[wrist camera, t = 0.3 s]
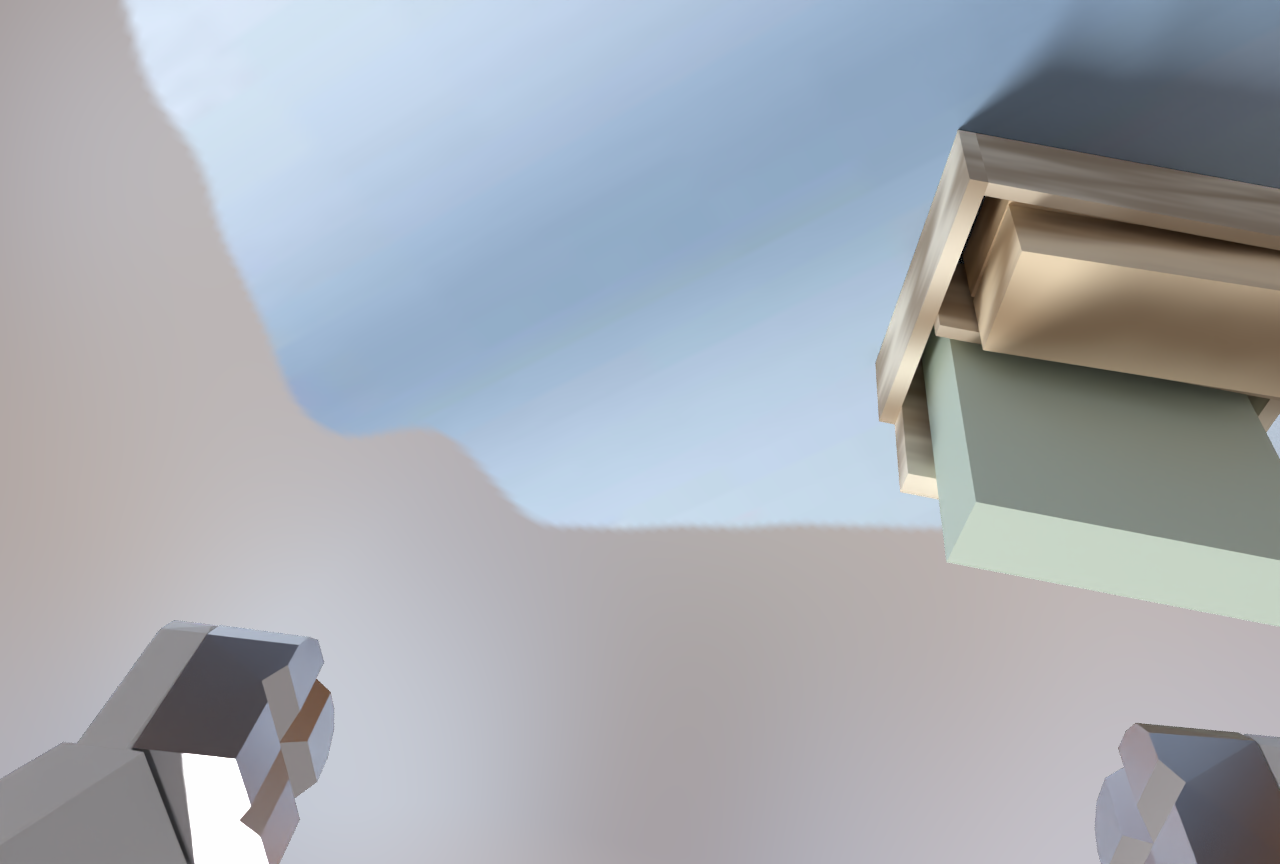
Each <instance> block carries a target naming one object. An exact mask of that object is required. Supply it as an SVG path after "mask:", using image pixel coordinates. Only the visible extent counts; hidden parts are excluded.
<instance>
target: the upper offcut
mask: <svg viewBox="0 0 1280 864" xmlns="http://www.w3.org/2000/svg"><path fill="white" fill-rule="evenodd" d="M973 302H974V307H975V312H976V317H977V322H978V327H979V332H980V337H981V342H982V347H983V350H985V351H992V352H998V353H1004V354H1010V355H1017V356H1023V357H1029V358H1035V359H1042V360H1048V361H1054V362H1061V363H1067V364H1073V365H1079V366H1086V367H1092V368H1098V369H1105V370H1111V371H1117V372H1123V373H1130V374H1136V375H1142V376H1148V377H1155V378H1161V379H1167V380H1174V381H1180V382H1186V383H1192V384H1199V385H1205V386H1211V387H1217V388H1224V389H1230V390H1236V391H1243V392H1249V393H1255V394H1261V395H1268V396H1274V397H1280V250H1275V249H1269V248H1264V247H1258V246H1253V245H1248V244H1242V243H1237V242H1232V241H1226V240H1221V239H1215V238H1210V237H1205V236H1199V235H1194V234H1188V233H1183V232H1178V231H1172V230H1167V229H1161V228H1156V227H1151V226H1144V225H1138V224H1131V223H1125V222H1118V221H1112V220H1105V219H1099V218H1092V217H1085V216H1079V215H1072V214H1066V213H1059V212H1053V211H1046V210H1040V209H1033V208H1027V207H1020V206H1013V205H1008V208H1007V211H1006V213H1005V216H1004V219H1003V221H1002V224H1001V227H1000V230H999V232H998V235H997V238H996V240H995V243H994V246H993V248H992V251H991V254H990V257H989V259H988V262H987V265H986V267H985V270H984V273H983V276H982V278H981V281H980V284H979V286H978V289H977V292H976V295H975V297H974V300H973Z"/></svg>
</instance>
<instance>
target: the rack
mask: <svg viewBox="0 0 1280 864" xmlns="http://www.w3.org/2000/svg"><path fill="white" fill-rule="evenodd" d="M983 196H989V197H994V198H1000V199H1005V200H1011V201H1016V202H1021V203H1027V204H1032V205H1037V206H1043V207H1048V208H1054V209H1059V210H1064V211H1070V212H1075V213H1081V214H1086V215H1091V216H1097V217H1102V218H1108V219H1113V220H1118V221H1124V222H1129V223H1135V224H1140V225H1145V226H1151V227H1156V228H1161V229H1167V230H1172V231H1178V232H1183V233H1188V234H1194V235H1199V236H1205V237H1210V238H1215V239H1221V240H1226V241H1232V242H1237V243H1242V244H1248V245H1253V246H1258V247H1264V248H1269V249H1275V250H1280V189H1277V188H1272V187H1266V186H1261V185H1255V184H1250V183H1244V182H1239V181H1234V180H1228V179H1223V178H1217V177H1212V176H1206V175H1201V174H1196V173H1190V172H1185V171H1179V170H1174V169H1168V168H1163V167H1158V166H1152V165H1147V164H1141V163H1136V162H1130V161H1125V160H1120V159H1114V158H1109V157H1103V156H1098V155H1092V154H1087V153H1082V152H1076V151H1071V150H1065V149H1060V148H1054V147H1049V146H1043V145H1038V144H1033V143H1027V142H1022V141H1016V140H1011V139H1005V138H1000V137H995V136H989V135H984V134H978V133H973V132H967V131H962V130H958V131H957V134H956V137H955V140H954V143H953V146H952V148H951V151H950V154H949V157H948V160H947V163H946V165H945V168H944V171H943V174H942V177H941V180H940V182H939V185H938V188H937V191H936V194H935V196H934V199H933V202H932V205H931V208H930V211H929V213H928V216H927V219H926V222H925V225H924V228H923V230H922V233H921V236H920V239H919V242H918V244H917V247H916V250H915V253H914V256H913V259H912V261H911V264H910V267H909V270H908V273H907V276H906V278H905V281H904V284H903V287H902V290H901V293H900V295H899V298H898V301H897V304H896V307H895V309H894V312H893V315H892V318H891V321H890V324H889V326H888V329H887V332H886V335H885V338H884V341H883V343H882V346H881V349H880V352H879V355H878V357H877V360H876V379H877V395H878V411H879V421H881V422H886V423H891V424H895V433H896V446H897V458H898V471H899V483H900V492H903V493H908V494H913V495H918V496H924V497H929V498H934V499H939V496H938V488H937V480H936V472H935V463H934V455H933V447H932V439H931V431H930V422H929V414H928V406H927V398H926V389H925V381H924V373H923V365H922V353H923V350H924V348H925V345H926V343H927V340H928V338H929V335H930V332H931V330H932V327H933V325H934V328H935V335H936V336H939V337H945V338H950V339H955V340H961V341H966V342H971V343H976V344H982V342H981V337H980V332H979V327H978V322H977V317H976V312H975V307H974V302H973V300H974V297H972V296H971V295H970V290H969V285H968V280H967V275H966V269H965V264H960V263H958V260H959V258H960V255H961V253H962V250H963V248H964V245H965V242H966V240H967V237H968V235H969V232H970V230H971V227H972V224H973V222H974V219H975V217H976V214H977V212H978V209H979V206H980V204H981V201H982V199H983ZM1172 381H1174V380H1172ZM1178 382H1180V381H1178ZM1183 383H1186V382H1183ZM1188 384H1192V383H1188ZM1193 385H1199V384H1193ZM1199 386H1204V387H1209V388H1215V389H1220V390H1225V391H1231V392H1236V393H1241V394H1246V395H1247V396H1248V398H1249V400H1250V402H1251V404H1252V406H1253V408H1254V410H1255V412H1256V414H1257V416H1258V418H1259V420H1260V422H1261V424H1262V426H1263V428H1264V430H1265V431H1266V432H1267V431H1268V429H1269V428H1270V426H1271V425H1272V424H1273V422H1274V421H1275V419H1276V418H1277V417H1278V415H1279V414H1280V397H1274V396H1268V395H1261V394H1255V393H1249V392H1243V391H1236V390H1230V389H1224V388H1217V387H1211V386H1205V385H1199Z"/></svg>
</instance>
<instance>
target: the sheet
mask: <svg viewBox="0 0 1280 864" xmlns="http://www.w3.org/2000/svg"><path fill="white" fill-rule="evenodd" d="M922 365H923V373H924V381H925V389H926V398H927V406H928V414H929V422H930V431H931V439H932V447H933V455H934V463H935V472H936V480H937V488H938V496H939V505H940V513H941V521H942V529H943V538H944V545H945V554H946V562H948V563H954V564H959V565H964V566H969V567H975V568H979V569H985V570H990V571H995V572H1000V573H1005V574H1010V575H1016V576H1021V577H1026V578H1031V579H1037V580H1042V581H1047V582H1052V583H1057V584H1062V585H1067V586H1072V587H1078V588H1083V589H1088V590H1093V591H1098V592H1103V593H1109V594H1114V595H1119V596H1124V597H1129V598H1135V599H1140V600H1145V601H1150V602H1155V603H1160V604H1165V605H1171V606H1176V607H1181V608H1186V609H1191V610H1196V611H1201V612H1207V613H1212V614H1217V615H1222V616H1228V617H1233V618H1238V619H1243V620H1248V621H1253V622H1259V623H1264V624H1269V625H1274V626H1279V627H1280V459H1279V457H1278V455H1277V453H1276V451H1275V449H1274V447H1273V445H1272V443H1271V441H1270V439H1269V437H1268V435H1267V433H1266V431H1265V430H1264V428H1263V426H1262V424H1261V422H1260V420H1259V418H1258V416H1257V414H1256V412H1255V410H1254V408H1253V406H1252V404H1251V402H1250V400H1249V398H1248V396H1247V395H1246V394H1241V393H1236V392H1231V391H1225V390H1220V389H1215V388H1209V387H1204V386H1199V385H1193V384H1188V383H1183V382H1178V381H1172V380H1167V379H1161V378H1155V377H1148V376H1142V375H1136V374H1130V373H1123V372H1117V371H1111V370H1105V369H1098V368H1092V367H1086V366H1079V365H1073V364H1067V363H1061V362H1054V361H1048V360H1042V359H1035V358H1029V357H1023V356H1017V355H1010V354H1004V353H998V352H992V351H985V350H983V347H982V344H976V343H971V342H966V341H961V340H955V339H950V338H945V337H939V336H936V335H935V328H934V325H933V327H932V330H931V332H930V335H929V338H928V340H927V343H926V345H925V348H924V350H923V353H922Z"/></svg>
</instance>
